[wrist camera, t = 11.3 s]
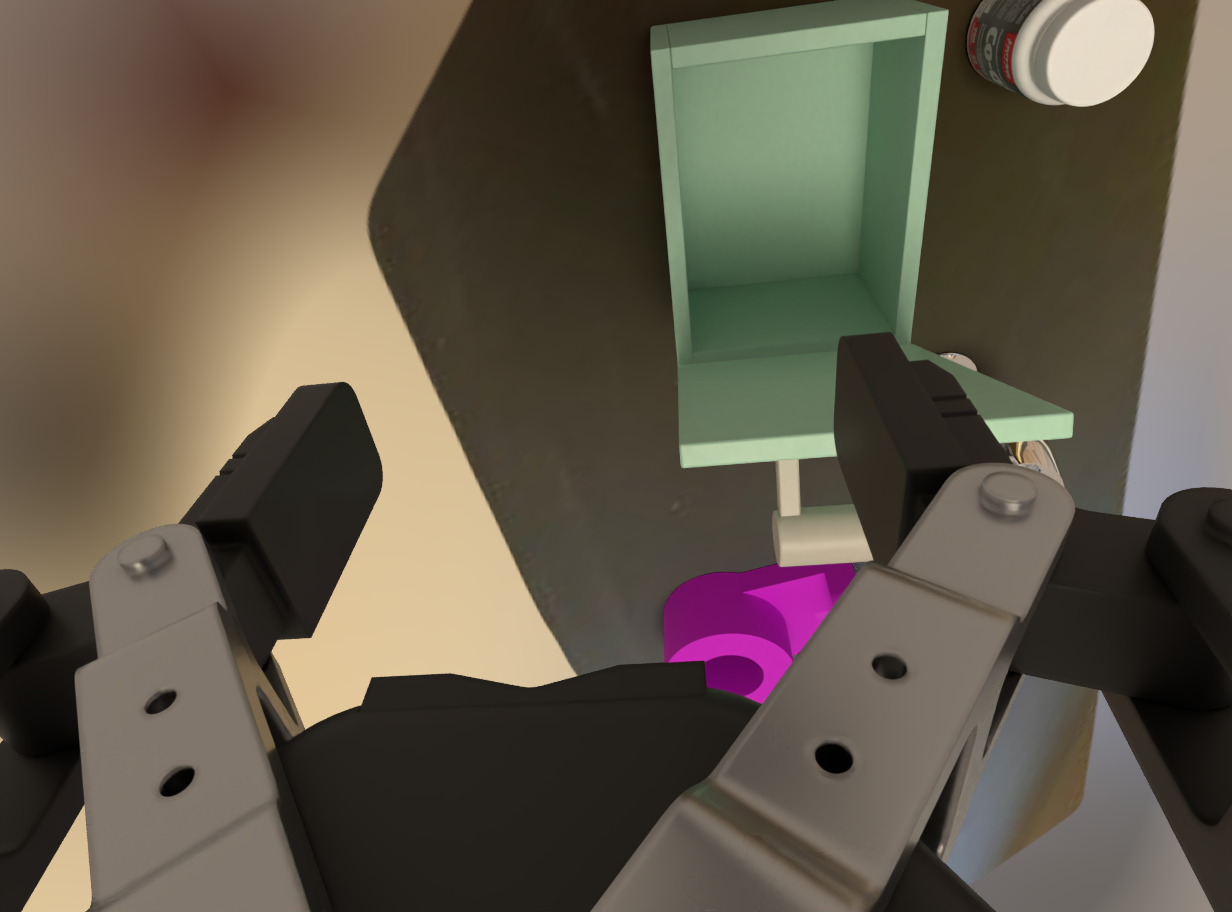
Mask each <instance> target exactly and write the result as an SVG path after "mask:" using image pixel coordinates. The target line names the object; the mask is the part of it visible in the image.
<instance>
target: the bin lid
mask: <svg viewBox="0 0 1232 912" xmlns="http://www.w3.org/2000/svg"><path fill="white" fill-rule="evenodd" d="M900 347H901V349H902V350H903V352H904V354H905V355H906V357H907V359H908V360H909V361H918V360H929V361H931V362H933V363H934V364H936V365H938V366H939V367H941V368H943V369H944V370H946V371H947V372H949V373H951V374H952V375H954V377H955V378H956V380H957V381H958V383H959V384H960V386H961V387H962V389H963V390H964V391H965V393H966V394H967V395H966V397H967V399H968V398H969V399H970V400H971V402H972V403H973V405H974V406H975V408H976V409H977V414H978V415H981V417H982V418H983V420H984V421H985V423H986V424H987V426H988V427H989V429H990V430H991V431H992V433H993V434H994V436H995V437H996V439H997V440H998V442H999V443H1011V442H1024V441H1037V440H1050V439H1063V438H1070V437H1072V433H1073V417H1074V415H1073V413H1072V412H1070V411H1068V410H1065V409H1063V408H1061V407H1058V406H1056V405H1054V404H1051V403H1049V402H1047V401H1044V400H1042V399H1040V398H1037V397H1035V396H1033V395H1030V394H1028V393H1026V392H1023V391H1021V390H1019V389H1016V388H1014V387H1012V386H1009V385H1007V384H1005V383H1002V382H1000V381H998V380H995V379H993V378H991V377H988V376H986V375H984V374H981V373H979V372H977V371H974V370H972V369H970V368H967V367H965V366H962V365H960V364H958V363H955V362H953V361H951V360H948V359H946V358H944V357H941V356H939V355H937V354H934V353H932V352H930V351H927V350H925V349H923V348H920V347H918V346H916V345H913V344H903V345H900ZM836 366H837V351H827V352H816V353H805V354H794V355H783V356H772V357H762V358H751V359H740V360H729V361H718V362H707V363H696V364H686V365H679V366H678V406H679V450H680V462H681V466H682V467H683V468H690V467H703V466H715V465H728V464H741V463H754V462H767V461H776V480H777V500H778V509H777V510H774V512H773V518H772V525H773V540H774V549H775V555H776V560H777V563H778V565H779V566H780V567H789V566H805V565H821V564H836V563H852V562H868V561H871V560H873V557H872V554H871V552H870V549H869V546H868V543H867V540H866V537H865V534H864V532H863V529H862V526H861V523H860V520H859V517H858V515H857V512H856V509H855V506H854V504H848V505H834V506H820V507H805V508H801V506H800V481H799V459H805V458H818V457H831V456H837V453H836V448H835V441H834V403H835V385H836ZM873 561H874V560H873Z"/></svg>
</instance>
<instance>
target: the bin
mask: <svg viewBox="0 0 1232 912" xmlns="http://www.w3.org/2000/svg"><path fill="white" fill-rule="evenodd" d="M948 13H949V10H947V9H943V8H940V7H936V6H933V5H929V4H926V3H922V2H918V1H915V0H836V1H829V2H822V3H815V4H808V5H801V6H793V7H786V8H779V9H772V10H765V11H758V12H750V13H743V14H736V15H729V16H722V17H715V18H708V19H700V20H693V21H686V22H679V23H672V24H665V25H658V26H652V27H651V30H650V39H651V63H652V75H653V86H654V98H655V109H656V121H657V132H658V144H659V155H660V167H661V178H662V190H663V201H664V213H665V224H666V236H667V247H668V259H669V270H670V282H671V293H672V305H673V316H674V328H675V339H676V351H677V362H678V366H679V365H686V364H696V363H707V362H718V361H729V360H740V359H751V358H762V357H772V356H783V355H794V354H805V353H816V352H827V351H837V349H838V343H839V339H840V337H841V336H849V335H859V334H870V333H880V332H891V333H892V334H893V335H894V337H895V338H896V340H897V342H898V343H899V345H903V344H910V340H911V331H912V323H913V314H914V306H915V297H916V288H917V280H918V271H919V263H920V254H921V245H922V237H923V228H924V219H925V211H926V202H927V194H928V185H929V176H930V168H931V159H932V151H933V142H934V133H935V125H936V116H937V108H938V99H939V90H940V82H941V73H942V64H943V56H944V47H945V39H946V30H947V21H948Z"/></svg>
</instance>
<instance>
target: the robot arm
mask: <svg viewBox="0 0 1232 912" xmlns="http://www.w3.org/2000/svg"><path fill="white" fill-rule="evenodd" d="M966 395H967V394H966V393H965V391H964V390H963V389H962V387H961V386H960V384H959V383H958V381H957V380H956V378H955V377H954V375H952V374H951V373H949V372H947V371H946V370H944V369H943V368H941V367H939V366H938V365H936V364H934V363H933V362H931V361H929V360H918V361H909V360H908V359H907V357H906V355H905V354H904V352H903V350H902V349H901V347H900V345H899V343H898V342H897V340H896V338H895V337H894V335H893V334H892V333H891V332H880V333H870V334H859V335H849V336H841V337H840V339H839V343H838V349H837V366H836V385H835V403H834V441H835V448H836V453H837V457H838V461H839V463H840V466H841V469H842V472H843V475H844V478H845V481H846V483H847V486H848V489H849V492H850V495H851V498H852V500H853V503H854V506H855V509H856V512H857V515H858V517H859V520H860V523H861V526H862V529H863V532H864V534H865V537H866V540H867V543H868V546H869V549H870V552H871V554H872V557H873V560H874V561H873V560H871V561H869V562H867V563H866V564H865V565H864V566H863V567H862V568H861V569H860V570H859V571H858V573H857V574H856V575H855V577H854V578H853V580H852V581H851V582H850V584H849V585H848V586H847V588H846V589H845V591H844V592H843V593H842V595H841V596H840V597H839V599H838V600H837V602H836V603H835V604H834V606H833V607H832V608H831V610H830V611H829V613H828V614H827V615H826V617H825V618H824V619H823V621H822V622H821V624H820V625H819V626H818V628H817V629H816V630H815V632H814V633H813V635H812V636H811V637H810V639H809V640H808V641H807V643H806V644H805V646H804V647H803V648H802V650H801V651H800V652H799V654H798V655H797V657H796V658H795V659H794V661H793V662H792V663H791V665H790V666H789V668H788V669H787V670H786V672H785V673H784V674H783V676H782V677H781V679H780V680H779V681H778V683H777V684H776V685H775V687H774V688H773V690H772V691H771V692H770V694H769V695H768V696H767V698H766V699H765V701H764V702H763V703H762V704H761V703H759V702H756V701H754V700H752V699H749V698H747V697H745V696H742V695H738V694H735V693H732V692H728V691H725V690H721V689H716V688H710V687H707V683H706V671H705V661H686V662H666V663H646V664H627V665H617V666H614V667H610V668H606V669H603V670H599V671H595V672H591V673H588V674H584V675H580V676H576V677H573V678H569V679H565V680H562V681H558V682H554V683H550V684H547V685H543V686H538V687H531V688H530V687H529V688H527V687H520V686H514V685H509V684H504V683H499V682H494V681H488V680H483V679H477V678H472V677H466V676H462V675H456V674H451V673H450V674H430V675H413V676H412V675H410V676H390V677H372V678H371V681H370V684H369V687H368V689H367V692H366V694H365V697H364V700H363V703H362V705H361V706H357V707H354V708H352V709H348V710H346V711H343V712H340V713H338V714H335V715H333V716H331V717H329V718H327V719H325V720H323V721H320V722H318V723H316V724H314V725H313V726H311V727H309V728H308V729H306V730H305V728H304V726H303V723H302V721H301V718H300V716H299V713H298V711H297V708H296V706H295V703H294V701H293V698H292V696H291V694H290V691H289V688H288V686H287V683H286V681H285V678H284V676H283V673H282V671H281V668H280V666H279V664H278V662H277V661H276V659H275V657H274V656H273V654H272V652H271V651H272V649H273V647H274V645H275V643H276V641H277V640H281V639H299V638H311V637H312V635H313V633H314V631H315V628H316V627H317V624H318V622H319V620H320V618H321V616H322V614H323V612H324V610H325V608H326V605H327V604H328V601H329V599H330V597H331V595H332V593H333V591H334V589H335V587H336V585H337V583H338V580H339V578H340V576H341V574H342V572H343V570H344V568H345V566H346V564H347V562H348V560H349V557H350V555H351V553H352V551H353V549H354V547H355V545H356V543H357V540H358V538H359V536H360V534H361V532H362V530H363V528H364V526H365V524H366V522H367V519H368V518H369V515H370V513H371V511H372V509H373V507H374V505H375V503H376V501H377V499H378V497H379V494H380V492H381V488H382V481H383V472H382V464H381V460H380V456H379V454H378V451H377V448H376V446H375V443H374V441H373V438H372V435H371V433H370V430H369V427H368V425H367V422H366V420H365V417H364V414H363V412H362V409H361V407H360V404H359V401H358V399H357V396H356V394H355V392H354V390H353V389H352V387H351V386H350V385H349V384H348V383H346V382H338V383H327V384H317V385H307V386H300V387H298V388H297V389H296V390H295V391H294V393H293V394H292V395H291V397H290V398H289V399H288V401H287V402H286V403H285V405H284V406H283V407H282V408H281V410H280V411H279V412H278V414H277V415H276V416H275V417H273V418H272V419H270V420H269V421H267V422H266V423H265V424H263V425H262V426H260V427H259V428H258V429H256V430H255V431H253V432H252V433H251V434H249V435H248V436H247V437H246V438H245V440H244V441H243V442H242V444H241V445H240V446H239V447H238V449H237V450H236V451H235V452H234V454H233V455H232V456H233V459H229V460H228V461H227V463H226V464H225V465H224V466H223V468H222V469H221V470H220V475H219V476H215V478H214V479H213V480H212V482H211V483H210V484H209V485H208V487H207V488H206V489H205V490H204V492H203V493H202V494H201V495H200V497H199V498H198V499H197V500H196V502H195V503H194V504H193V506H192V507H191V508H190V509H189V511H188V512H187V513H186V515H185V516H184V517H183V518H182V519H181V521H180V522H179V523H178V524H170V525H164V526H159V527H156V528H152V529H149V530H147V531H144V532H141V533H139V534H137V535H135V536H133V537H131V538H129V539H127V540H126V541H124V542H122V543H121V544H119V545H118V546H116V547H115V548H113V549H112V550H111V551H109V552H108V553H107V554H106V555H105V556H104V557H103V558H102V559H101V560H100V561H99V562H98V564H96V566H95V567H94V569H93V571H92V572H91V575H90V578H89V581H87V582H84V583H81V584H77V585H73V586H70V587H66V588H63V589H59V590H56V591H52V592H49V593H45V594H42V595H41V594H40V592H39V591H38V590H37V589H36V587H35V586H34V585H33V584H32V583H31V581H30V580H29V579H28V578H27V576H26V575H25V574H23V573H22V572H21V571H18V570H12V569H4V570H0V737H1V738H2V739H3V741H2V742H1V743H0V912H21V911H22V910H23V908H24V906H25V904H26V902H27V901H28V899H29V897H30V896H31V894H32V892H33V891H34V889H35V887H36V886H37V884H38V882H39V881H40V879H41V877H42V875H43V874H44V872H45V870H46V868H47V867H48V865H49V863H50V862H51V860H52V858H53V857H54V855H55V853H56V852H57V850H58V848H59V847H60V845H61V843H62V841H63V840H64V838H65V836H66V835H67V833H68V831H69V830H70V828H71V826H72V824H73V823H74V821H75V819H76V817H77V816H78V814H79V812H80V811H81V809H82V807H83V806H84V804H85V814H86V827H87V839H88V852H89V863H90V876H91V889H92V901H91V906H90V908H89V909H88V910H87V911H86V912H996V911H995V910H994V909H993V908H992V907H991V906H990V905H989V904H987V903H986V902H985V901H984V900H983V899H982V898H981V897H980V896H979V895H978V894H977V893H976V892H975V891H974V890H973V889H971V887H969V886H968V885H967V884H966V883H965V882H964V881H963V880H962V879H961V878H960V877H959V876H958V875H957V874H956V873H955V872H954V871H953V870H951V869H950V868H949V867H948V866H947V865H946V862H947V859H948V857H949V855H950V853H951V850H952V848H953V845H954V843H955V841H956V838H957V836H958V833H959V831H960V828H961V826H962V823H963V820H964V818H965V815H966V812H967V809H968V807H969V804H970V801H971V798H972V795H973V793H974V790H975V788H976V785H977V783H978V780H979V778H980V776H981V773H982V771H983V769H984V767H985V764H986V762H987V760H988V758H989V755H990V753H991V751H992V749H993V746H994V744H995V742H996V740H997V737H998V735H999V733H1000V731H1001V729H1002V726H1003V724H1004V722H1005V720H1006V717H1007V715H1008V713H1009V711H1010V708H1011V706H1012V704H1013V702H1014V699H1015V697H1016V695H1017V693H1018V691H1019V688H1020V686H1021V684H1022V682H1023V679H1024V677H1025V675H1030V676H1035V677H1039V678H1044V679H1049V680H1054V681H1059V682H1063V683H1068V684H1073V685H1078V686H1083V687H1087V688H1092V689H1097V690H1101V691H1102V693H1103V695H1104V697H1105V699H1106V701H1107V703H1108V705H1109V707H1110V709H1111V711H1112V712H1113V714H1114V716H1115V718H1116V720H1117V722H1118V724H1119V726H1120V728H1121V730H1122V732H1123V734H1124V736H1125V738H1126V740H1127V742H1128V744H1129V746H1130V748H1131V750H1132V752H1133V754H1134V756H1135V757H1136V759H1137V761H1138V763H1139V765H1140V767H1141V769H1142V771H1143V773H1144V775H1145V777H1146V779H1147V781H1148V783H1149V785H1150V787H1151V789H1152V791H1153V793H1154V795H1155V797H1156V798H1157V801H1158V802H1159V804H1160V806H1161V808H1162V810H1163V812H1164V814H1165V816H1166V818H1167V820H1168V822H1169V824H1170V826H1171V828H1172V830H1173V832H1174V834H1175V836H1176V838H1177V839H1178V842H1179V843H1180V846H1181V847H1182V849H1183V851H1184V853H1185V855H1186V857H1187V859H1188V861H1189V863H1190V865H1191V867H1192V869H1193V871H1194V873H1195V875H1196V877H1197V879H1198V881H1199V883H1200V884H1201V886H1202V889H1203V890H1204V892H1205V894H1206V896H1207V898H1208V900H1209V902H1210V904H1211V906H1212V908H1213V910H1214V912H1232V490H1231V489H1224V488H1206V487H1202V488H1191V489H1186V490H1182V491H1179V492H1176V493H1174V494H1172V495H1170V496H1169V497H1167V498H1166V499H1165V501H1164V502H1163V503H1162V505H1161V508H1160V510H1159V512H1158V515H1157V518H1156V520H1151V519H1143V518H1136V517H1128V516H1121V515H1113V514H1106V513H1099V512H1093V511H1087V510H1083V509H1079V508H1075V504H1074V502H1073V499H1072V497H1071V496H1070V494H1069V493H1068V491H1067V490H1066V489H1065V488H1064V487H1063V486H1062V485H1061V484H1059V483H1058V482H1057V481H1055V480H1054V479H1052V478H1050V477H1049V476H1047V475H1045V474H1043V473H1040V472H1038V471H1036V470H1033V469H1030V468H1027V467H1023V466H1018V465H1014V464H1013V463H1012V461H1011V460H1010V458H1009V457H1008V455H1007V454H1006V452H1005V451H1004V449H1003V448H1002V446H1001V445H1000V443H999V442H998V440H997V439H996V437H995V436H994V434H993V433H992V431H991V430H990V429H989V427H988V426H987V424H986V423H985V421H984V420H983V418H982V417H981V415H978V414H977V409H976V408H975V406H974V405H973V403H972V402H971V400H970V399H969V398H968V399H967V397H966Z"/></svg>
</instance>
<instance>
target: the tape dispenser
mask: <svg viewBox="0 0 1232 912" xmlns="http://www.w3.org/2000/svg"><path fill="white" fill-rule="evenodd" d="M854 577H855V572H854V569H853V566H852V563H836V564H821V565H805V566H789V567H780V566H779V565H778V564H775V565H771V566H767V567H763V568H759V569H755V570H751V571H747V572H743V573H733V572H719V573H711V574H706V575H702V576H699V577H696V578H694V579H691V580H689V581H687V582H686V583H684V584H682V585H681V586H680V587H678V588H677V589H676V590H675V591H674V592H673V593H672V594H671V595H670V597H669V598H668V600H667V602H666V604H665V607H664V613H663V619H664V663H666V662H686V661H705V671H706V683H707V687H710V688H716V689H721V690H725V691H728V692H732V693H735V694H738V695H742V696H745V697H747V698H749V699H752V700H754V701H756V702H759V703H761V704H762V703H763V702H764V701H765V699H766V698H767V696H768V695H769V694H770V692H771V691H772V690H773V688H774V687H775V685H776V684H777V683H778V681H779V680H780V679H781V677H782V676H783V674H784V673H785V672H786V670H787V669H788V668H789V666H790V665H791V663H792V662H793V656H792V655H795V654H799V652H800V651H801V650H802V648H803V647H804V646H805V644H806V643H807V641H808V640H809V639H810V637H811V636H812V635H813V633H814V632H815V630H816V629H817V628H818V626H819V625H820V624H821V622H822V621H823V619H824V618H825V617H826V615H827V614H828V613H829V611H830V610H831V608H832V607H833V606H834V604H835V603H836V602H837V600H838V599H839V597H840V596H841V595H842V593H843V592H844V591H845V589H846V588H847V586H848V585H849V584H850V582H851V581H852V580H853V578H854Z"/></svg>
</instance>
